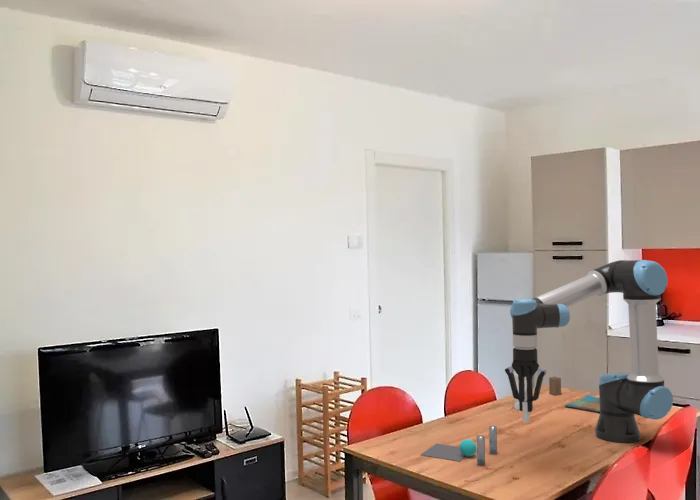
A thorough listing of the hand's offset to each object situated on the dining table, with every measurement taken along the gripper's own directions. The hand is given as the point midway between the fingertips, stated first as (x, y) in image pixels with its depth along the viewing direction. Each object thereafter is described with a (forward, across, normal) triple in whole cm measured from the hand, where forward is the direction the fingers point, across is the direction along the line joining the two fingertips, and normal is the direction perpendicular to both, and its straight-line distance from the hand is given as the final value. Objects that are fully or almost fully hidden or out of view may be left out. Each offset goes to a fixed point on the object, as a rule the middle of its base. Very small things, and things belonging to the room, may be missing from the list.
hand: (526, 421), depth 196 cm
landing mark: (+14, +27, 0) cm, 30 cm away
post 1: (+14, +13, +6) cm, 20 cm away
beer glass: (+14, +21, -71) cm, 75 cm away
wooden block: (+14, +14, -106) cm, 108 cm away
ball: (+11, +20, 0) cm, 22 cm away
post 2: (+14, +13, -6) cm, 20 cm away
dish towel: (+15, -6, -91) cm, 92 cm away
